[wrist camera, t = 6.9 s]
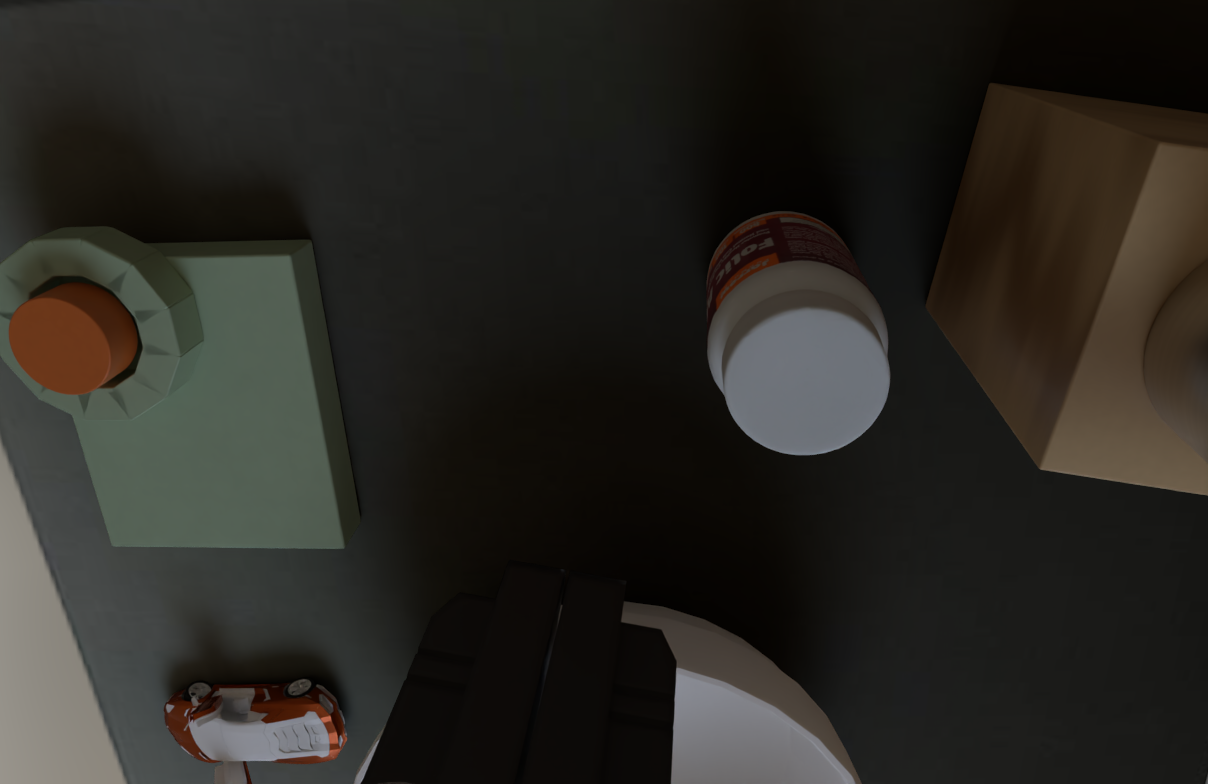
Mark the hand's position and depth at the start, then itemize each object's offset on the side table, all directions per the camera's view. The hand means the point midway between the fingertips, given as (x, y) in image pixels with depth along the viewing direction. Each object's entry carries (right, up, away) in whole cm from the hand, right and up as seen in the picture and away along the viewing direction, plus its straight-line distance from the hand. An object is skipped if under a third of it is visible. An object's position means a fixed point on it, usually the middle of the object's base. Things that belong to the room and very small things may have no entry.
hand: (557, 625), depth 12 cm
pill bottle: (+6, +7, +18) cm, 21 cm away
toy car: (-14, -11, +28) cm, 33 cm away
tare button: (-16, +5, +18) cm, 24 cm away
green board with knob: (-13, +3, +22) cm, 26 cm away
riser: (+15, +8, +17) cm, 24 cm away
